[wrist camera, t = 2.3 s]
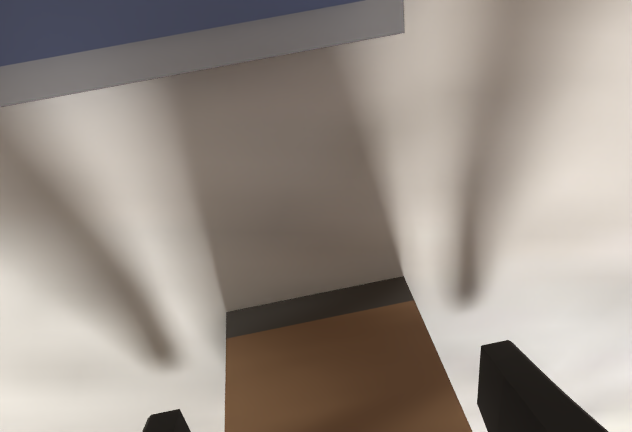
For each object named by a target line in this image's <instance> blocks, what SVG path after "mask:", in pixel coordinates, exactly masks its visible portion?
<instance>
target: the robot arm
mask: <svg viewBox="0 0 632 432" xmlns="http://www.w3.org/2000/svg"><path fill="white" fill-rule="evenodd" d="M477 404H478V407H479V410H480V412H481V415H482V417H483V420H484V423H485V425H486V428H487V431H488V432H608V431H607V430H606V429H605V428H604V427H603V426H601V425H600V424H599V423H598V422H597V421H596V420H595V419H593V418H592V417H591V416H590V415H589V414H588V413H587V412H585V411H584V410H583V409H582V408H581V407H580V406H579V405H577V404H576V403H575V402H574V401H573V400H572V399H571V398H570V397H569V396H568V395H566V394H565V393H564V392H563V391H562V390H561V389H560V388H559V387H558V386H557V385H556V384H555V383H554V382H552V381H551V380H550V379H549V378H548V377H547V376H546V375H545V374H544V373H543V372H542V371H541V370H540V369H539V368H538V367H537V366H536V365H535V364H534V363H533V362H532V361H531V360H530V359H529V358H528V357H527V356H526V355H525V354H523V353H522V352H521V351H520V350H519V349H518V348H517V347H516V346H515V345H514V344H513V343H512V342H511V341H509V340H506V341H502V342H497V343H492V344H487V345H482V346H481V355H480V369H479V384H478V398H477ZM143 432H191V431H190V429H189V427H188V425H187V423H186V421H185V419H184V417H183V415H182V413H181V411H180V409H177V410H172V411H167V412H163V413H158V414H153V415H151V416H150V417H149V418H148V419H147V422H146V424H145V427H144V429H143Z"/></svg>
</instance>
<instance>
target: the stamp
mask: <svg viewBox="0 0 632 432" xmlns="http://www.w3.org/2000/svg"><path fill="white" fill-rule="evenodd" d="M225 432H472V430H471V427H470V425H469V423H468V421H467V418H466V416H465V414H464V412H463V409H462V407H461V405H460V403H459V400H458V398H457V396H456V394H455V391H454V389H453V387H452V385H451V382H450V380H449V378H448V376H447V373H446V371H445V369H444V366H443V364H442V362H441V360H440V357H439V355H438V353H437V351H436V348H435V346H434V344H433V342H432V339H431V337H430V335H429V333H428V330H427V328H426V326H425V324H424V321H423V319H422V317H421V315H420V312H419V310H418V308H417V306H416V303H415V301H414V299H413V296H412V294H411V292H410V290H409V287H408V285H407V283H406V281H405V278H404V276H403V277H398V278H393V279H388V280H383V281H378V282H373V283H368V284H364V285H359V286H354V287H349V288H344V289H339V290H334V291H329V292H324V293H319V294H314V295H309V296H304V297H299V298H294V299H289V300H285V301H280V302H275V303H270V304H265V305H260V306H255V307H250V308H245V309H240V310H235V311H230V312H227V316H226V382H225Z"/></svg>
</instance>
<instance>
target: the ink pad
mask: <svg viewBox="0 0 632 432" xmlns="http://www.w3.org/2000/svg"><path fill="white" fill-rule="evenodd" d="M400 33H405V30H404V4H403V0H0V107H4V106H10V105H15V104H21V103H26V102H31V101H37V100H42V99H48V98H53V97H59V96H64V95H69V94H75V93H80V92H86V91H91V90H97V89H102V88H107V87H113V86H118V85H124V84H129V83H135V82H140V81H145V80H151V79H156V78H162V77H167V76H173V75H178V74H183V73H189V72H194V71H200V70H205V69H211V68H216V67H221V66H227V65H232V64H238V63H243V62H249V61H254V60H259V59H265V58H270V57H276V56H281V55H287V54H292V53H297V52H303V51H308V50H314V49H319V48H325V47H330V46H335V45H341V44H346V43H352V42H357V41H362V40H368V39H373V38H379V37H384V36H390V35H395V34H400Z"/></svg>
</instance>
